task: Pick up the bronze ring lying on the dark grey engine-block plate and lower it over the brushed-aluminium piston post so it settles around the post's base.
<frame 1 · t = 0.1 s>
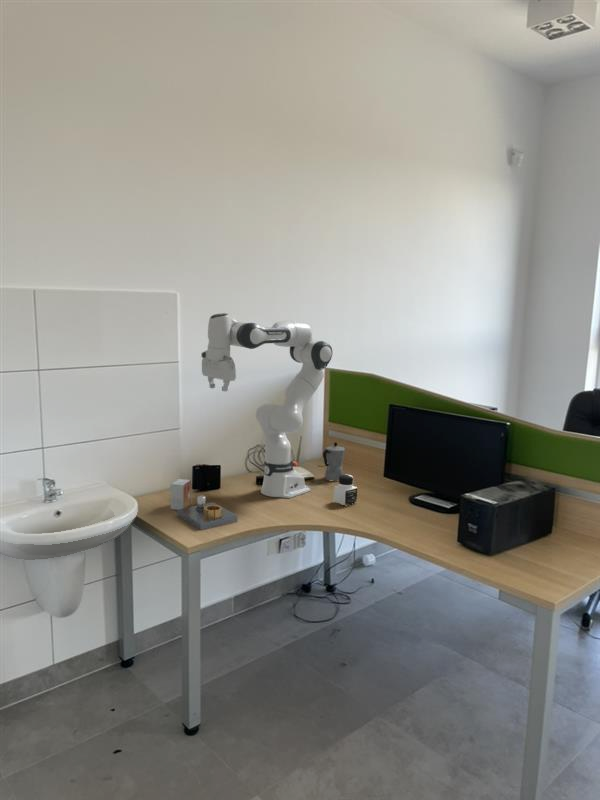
hand: (218, 389, 242), 48 cm above the table, fingers open, 8 cm apart
ring: (213, 515, 229), point 2 cm above the table, touching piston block
small box: (180, 507, 245), on the table
medicine bottle: (344, 503, 258), on the table
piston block: (207, 518, 233), on the table
coffeepot: (332, 479, 292), on the table
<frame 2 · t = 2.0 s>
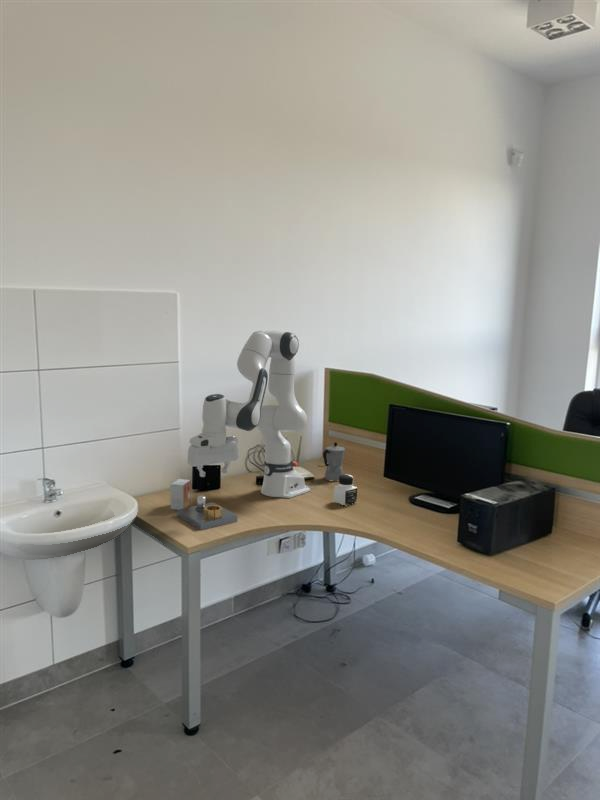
hand: (213, 474, 227), 19 cm above the table, fingers open, 8 cm apart
nothing on the table moved.
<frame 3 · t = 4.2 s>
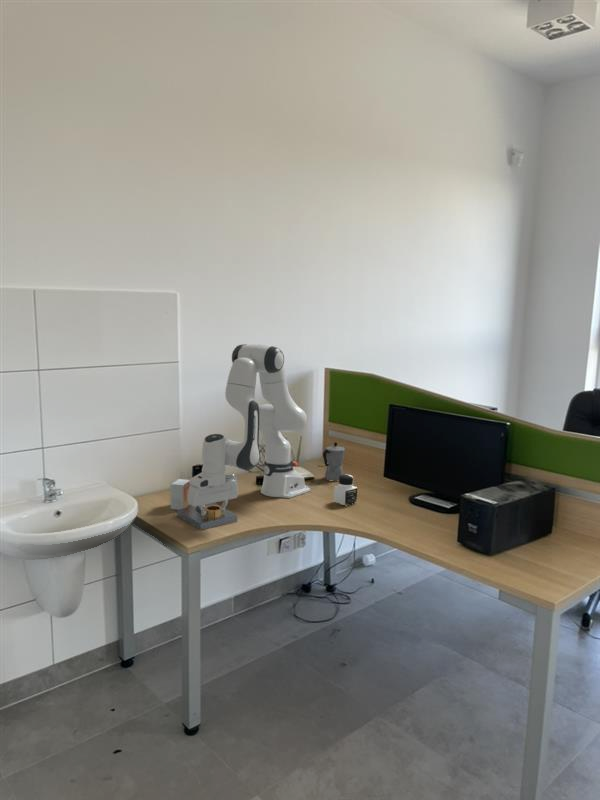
hand: (213, 513, 229), 4 cm above the table, fingers closed on ring, 7 cm apart
ring: (213, 515, 229), point 3 cm above the table, touching gripper, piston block
everything else where it was.
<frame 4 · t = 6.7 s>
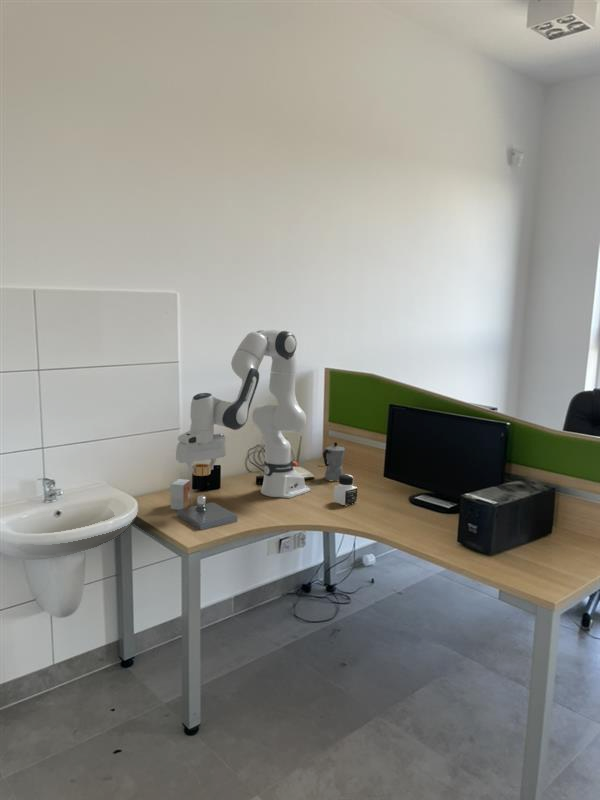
hand: (201, 470, 234), 18 cm above the table, fingers closed on ring, 7 cm apart
ring: (201, 473, 234), point 17 cm above the table, touching gripper
everything else where it was.
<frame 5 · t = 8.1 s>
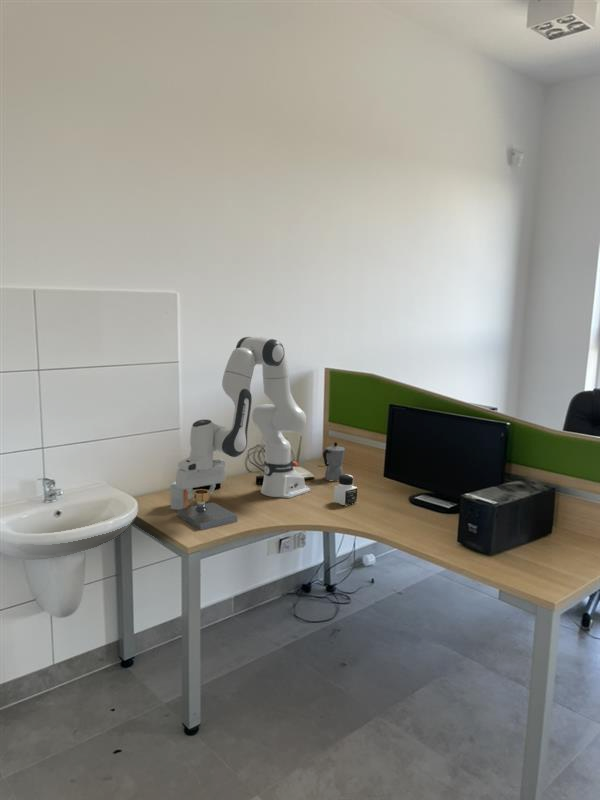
hand: (201, 496, 235), 8 cm above the table, fingers closed on ring, 7 cm apart
ring: (201, 499, 235), point 7 cm above the table, touching gripper
everything else where it was.
when the fingers open (6 cm above the table, at t = 9.4 s): ring drops 2 cm, resting on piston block.
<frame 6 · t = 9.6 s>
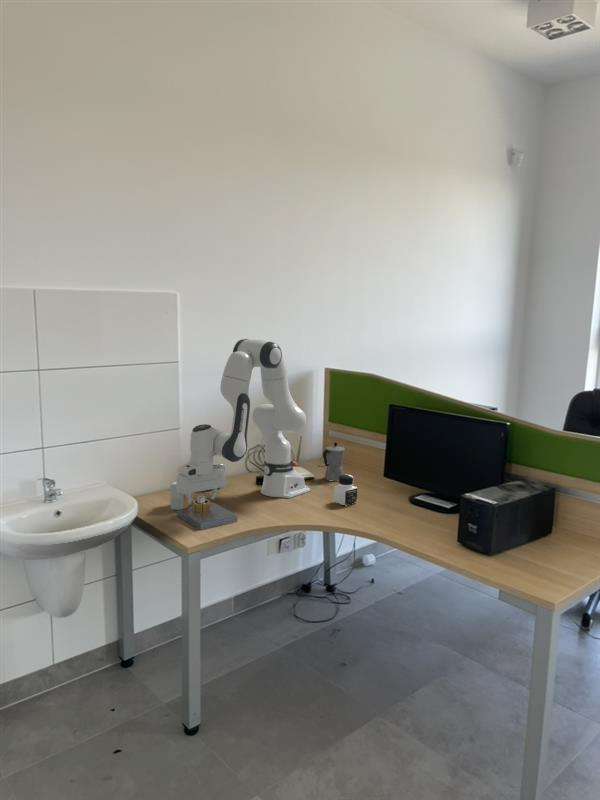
hand: (201, 501, 236), 6 cm above the table, fingers open, 8 cm apart
ring: (201, 509, 236), point 2 cm above the table, touching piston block
everything else where it was.
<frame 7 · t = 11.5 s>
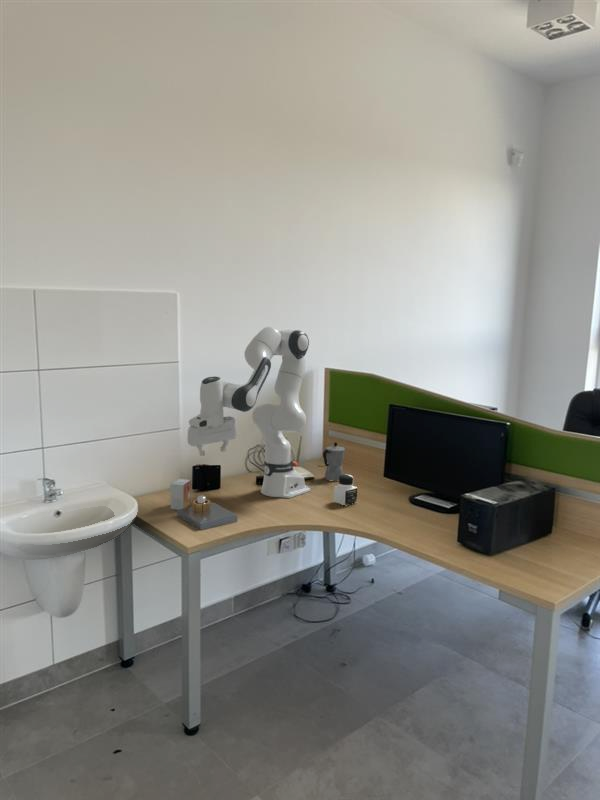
hand: (212, 453, 238), 24 cm above the table, fingers open, 8 cm apart
nothing on the table moved.
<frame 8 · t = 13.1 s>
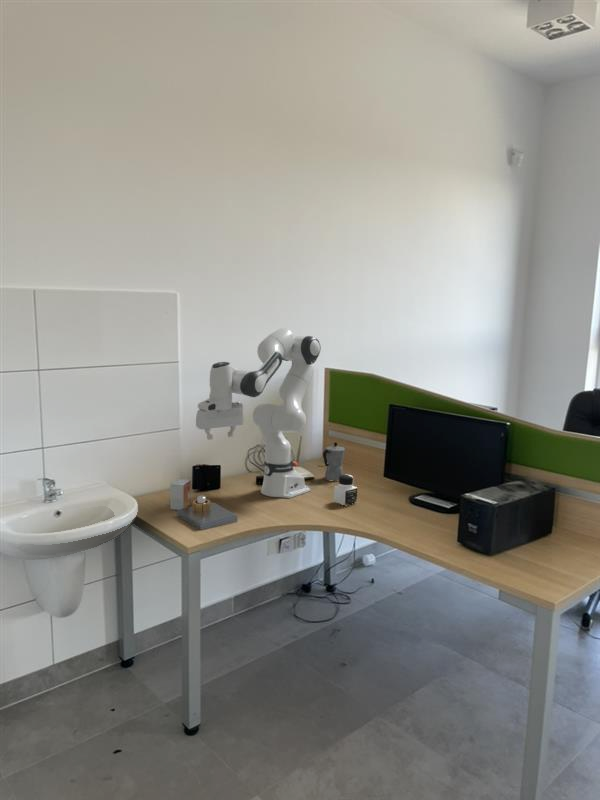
hand: (220, 438, 241), 29 cm above the table, fingers open, 8 cm apart
nothing on the table moved.
at the end: ring 0.1 cm from the target spot on the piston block, point 2.5 cm above the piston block's base; the gripper is holding nothing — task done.
